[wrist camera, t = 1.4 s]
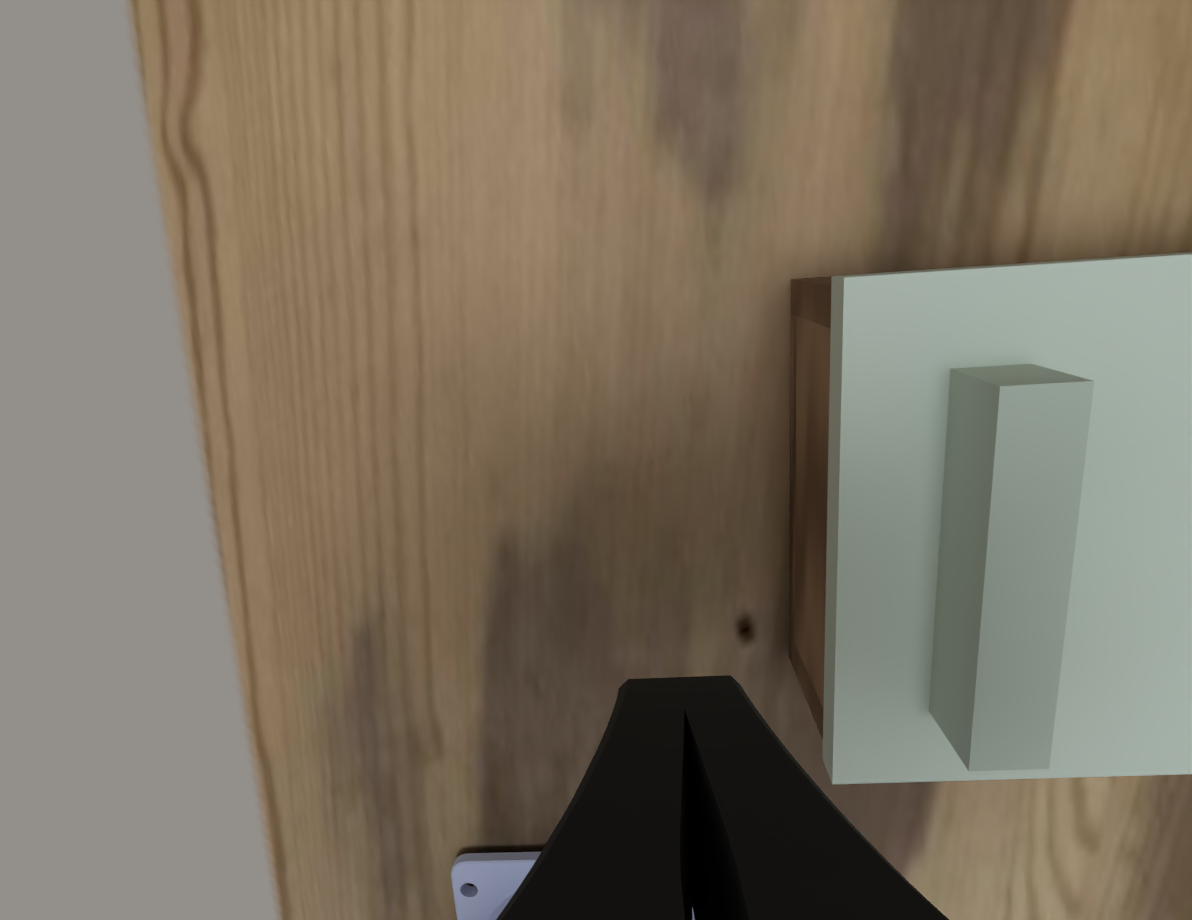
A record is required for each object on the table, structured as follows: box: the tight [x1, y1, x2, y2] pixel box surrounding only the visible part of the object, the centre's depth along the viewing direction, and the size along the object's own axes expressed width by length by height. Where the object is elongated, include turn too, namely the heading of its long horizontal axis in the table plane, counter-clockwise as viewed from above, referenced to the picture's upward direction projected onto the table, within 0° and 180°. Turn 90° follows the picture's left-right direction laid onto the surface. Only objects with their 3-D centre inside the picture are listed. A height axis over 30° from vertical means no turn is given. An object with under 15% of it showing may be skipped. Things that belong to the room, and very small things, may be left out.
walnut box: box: [789, 277, 832, 739], centre depth 17 cm, size 10×12×4 cm
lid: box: [823, 252, 1192, 784], centre depth 13 cm, size 10×12×3 cm
